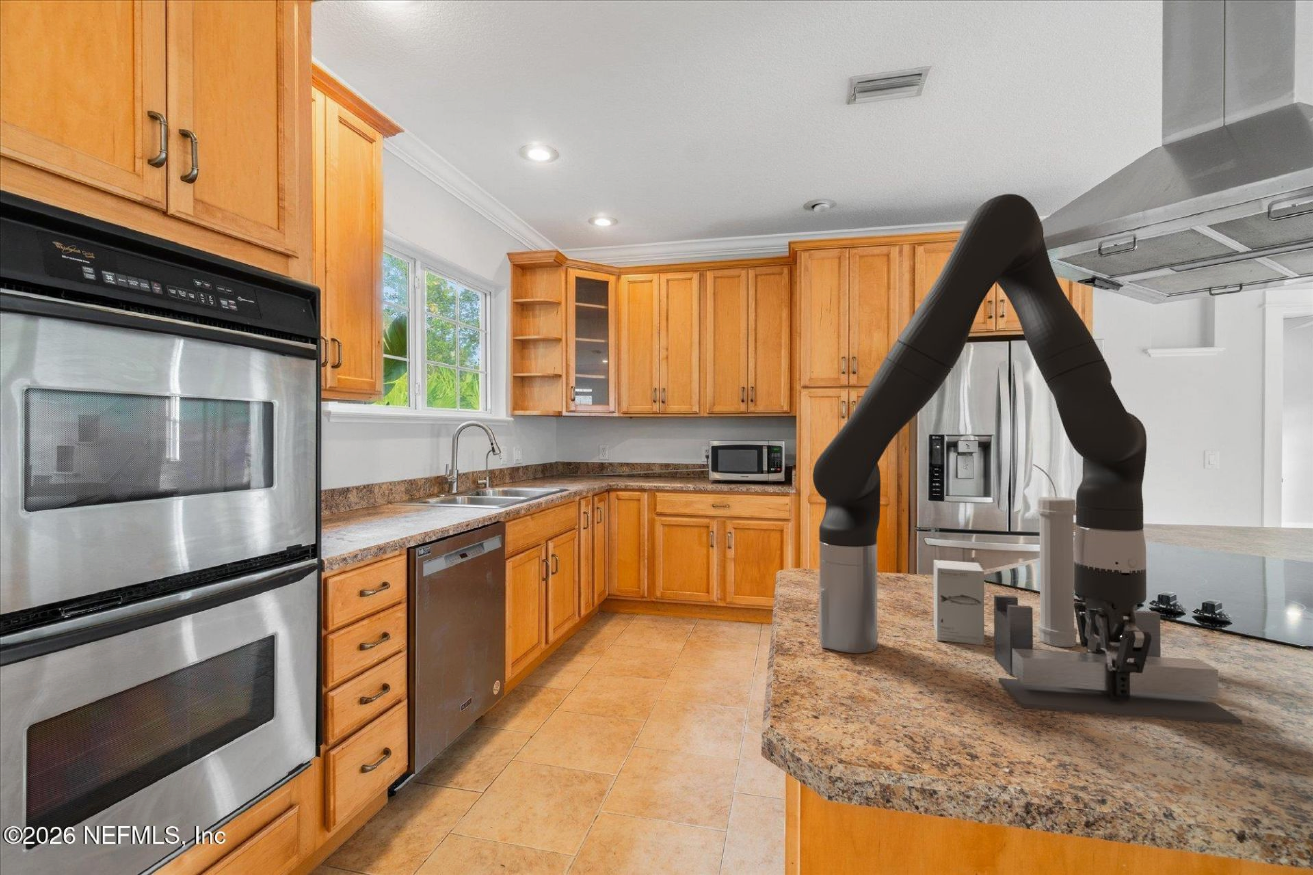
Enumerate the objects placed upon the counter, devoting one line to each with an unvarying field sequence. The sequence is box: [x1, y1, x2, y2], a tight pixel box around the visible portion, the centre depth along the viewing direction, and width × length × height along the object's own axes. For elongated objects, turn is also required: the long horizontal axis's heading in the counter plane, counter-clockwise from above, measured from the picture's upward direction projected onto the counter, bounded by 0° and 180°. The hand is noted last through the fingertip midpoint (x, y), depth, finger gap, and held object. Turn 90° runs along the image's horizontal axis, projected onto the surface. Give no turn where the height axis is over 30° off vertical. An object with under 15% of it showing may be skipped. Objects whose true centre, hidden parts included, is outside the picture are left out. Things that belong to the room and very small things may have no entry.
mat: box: [998, 677, 1243, 726], centre depth 77 cm, size 24×8×1 cm, turn 78°
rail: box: [1012, 648, 1219, 699], centre depth 77 cm, size 22×4×4 cm, turn 78°
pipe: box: [1032, 463, 1078, 648], centre depth 99 cm, size 6×6×30 cm
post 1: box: [993, 594, 1034, 677], centre depth 88 cm, size 3×6×10 cm, turn 168°
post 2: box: [1114, 604, 1162, 657], centre depth 85 cm, size 3×6×10 cm, turn 168°
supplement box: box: [933, 559, 985, 647], centre depth 102 cm, size 7×7×13 cm
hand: (1109, 692), depth 77 cm, fingers closed on rail, 3 cm apart
